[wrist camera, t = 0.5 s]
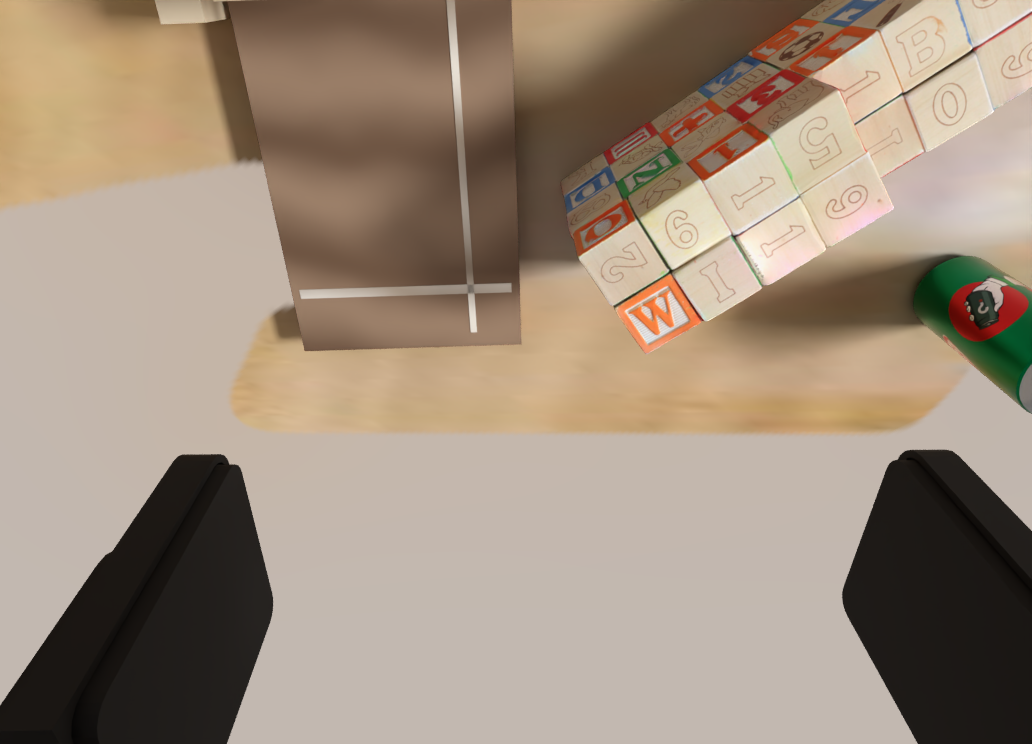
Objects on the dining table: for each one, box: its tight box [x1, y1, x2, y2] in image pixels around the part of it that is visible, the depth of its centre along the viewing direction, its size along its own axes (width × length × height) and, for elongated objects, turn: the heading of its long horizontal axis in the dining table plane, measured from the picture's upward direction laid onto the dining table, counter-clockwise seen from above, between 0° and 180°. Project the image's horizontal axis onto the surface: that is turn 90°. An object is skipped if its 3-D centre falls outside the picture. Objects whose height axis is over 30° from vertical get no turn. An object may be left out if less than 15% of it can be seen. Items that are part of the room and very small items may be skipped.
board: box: [227, 0, 521, 351], centre depth 37 cm, size 26×14×2 cm, turn 2°
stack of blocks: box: [561, 0, 1032, 354], centre depth 33 cm, size 21×6×12 cm, turn 125°
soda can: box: [913, 256, 1032, 414], centre depth 38 cm, size 5×5×12 cm
